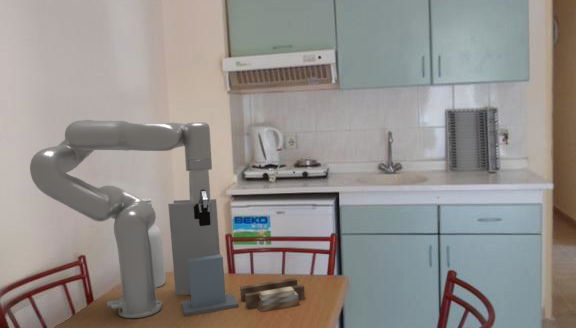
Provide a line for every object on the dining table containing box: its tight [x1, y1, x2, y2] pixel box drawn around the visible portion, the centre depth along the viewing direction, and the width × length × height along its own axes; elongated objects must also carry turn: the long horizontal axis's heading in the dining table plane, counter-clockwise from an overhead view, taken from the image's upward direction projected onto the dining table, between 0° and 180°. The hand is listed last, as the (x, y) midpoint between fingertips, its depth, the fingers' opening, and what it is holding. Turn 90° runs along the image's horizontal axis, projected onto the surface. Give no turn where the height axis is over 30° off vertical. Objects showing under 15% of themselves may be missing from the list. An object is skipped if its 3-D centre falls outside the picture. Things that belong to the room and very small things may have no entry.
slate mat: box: [180, 293, 240, 317], centre depth 157 cm, size 16×9×1 cm, turn 108°
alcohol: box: [140, 197, 166, 289], centre depth 177 cm, size 9×9×30 cm
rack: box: [239, 277, 306, 310], centre depth 160 cm, size 18×8×4 cm, turn 108°
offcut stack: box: [257, 287, 301, 313], centre depth 154 cm, size 12×4×5 cm, turn 108°
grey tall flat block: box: [168, 198, 221, 296], centre depth 168 cm, size 14×6×30 cm, turn 84°
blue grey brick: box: [188, 253, 226, 308], centre depth 156 cm, size 10×3×14 cm, turn 109°
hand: (202, 222), depth 154 cm, fingers open, 9 cm apart
